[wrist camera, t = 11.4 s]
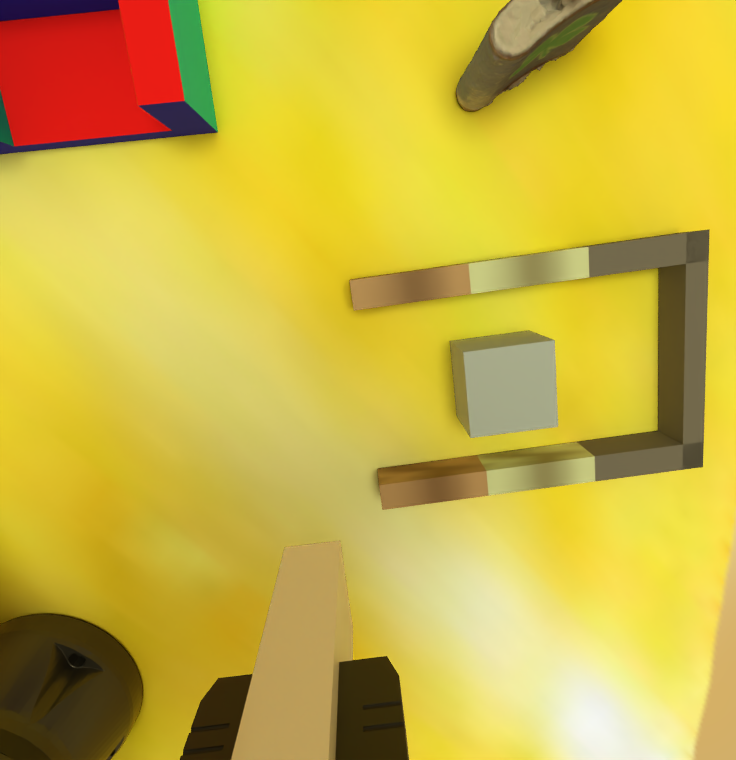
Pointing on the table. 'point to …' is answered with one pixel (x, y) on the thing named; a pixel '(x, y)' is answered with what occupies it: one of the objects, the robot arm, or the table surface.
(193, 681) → the table surface
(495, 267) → the channel rails
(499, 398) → the block
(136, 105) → the building blocks toy
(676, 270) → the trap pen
